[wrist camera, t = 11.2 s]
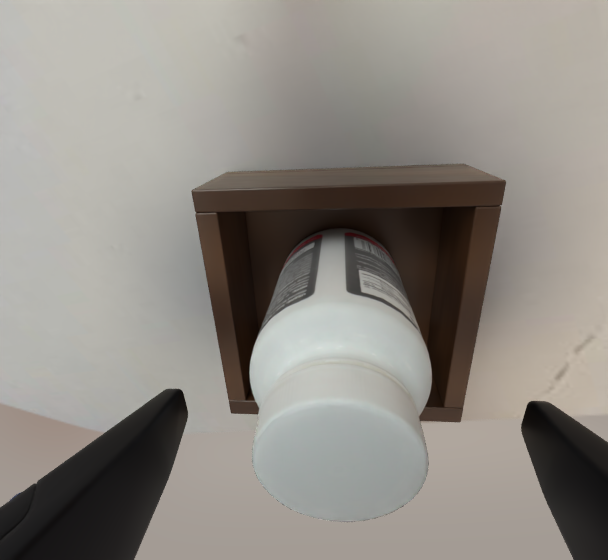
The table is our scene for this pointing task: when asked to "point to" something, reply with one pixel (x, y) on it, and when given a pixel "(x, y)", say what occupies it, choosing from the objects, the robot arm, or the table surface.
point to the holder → (367, 219)
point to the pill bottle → (340, 383)
